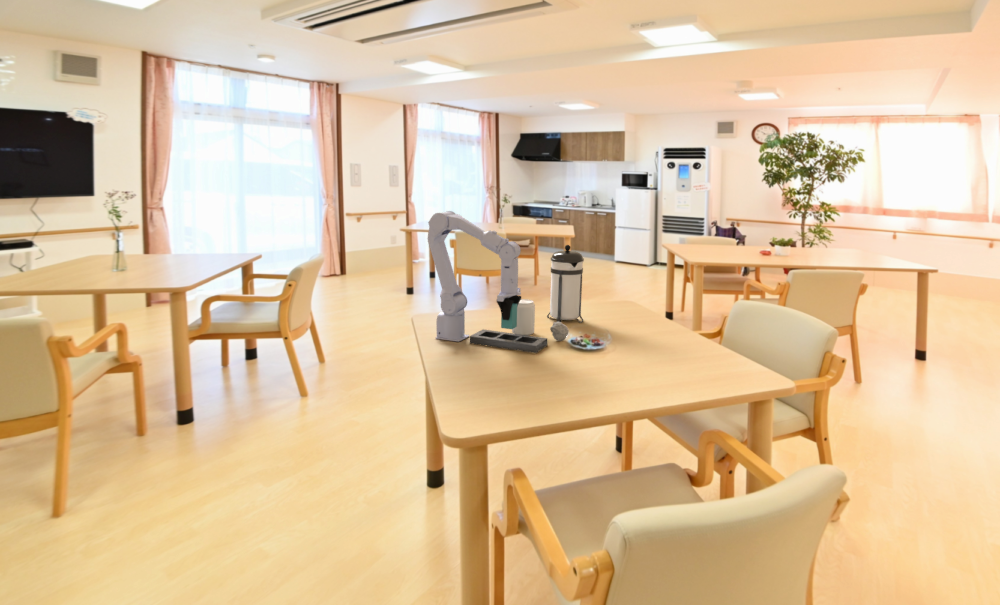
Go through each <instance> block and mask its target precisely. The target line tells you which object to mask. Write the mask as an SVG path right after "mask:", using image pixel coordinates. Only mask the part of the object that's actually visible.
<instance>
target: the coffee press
mask: <svg viewBox="0 0 1000 605" xmlns="http://www.w3.org/2000/svg"><path fill="white" fill-rule="evenodd" d="M583 257H584V256H583V255H582V253H580V252H577V251H574V250H571V246H570V244H566V245H565V246H564V250H558V251H556V252H554V253H553V254H552V255H551V257H550V262H551V267H550V302H549V303H550V304H549V313H548V314H547V316H546V317H547V319H549V317H550V316H551V317H550V319H551V318H553V319H556V321H555V322H561V323H562V321H563V320H564V321H572V320H576V321H577V322H578V323H579V324H582V323H583V322H584V319H583V317H582V295H583V294H582V292H583V273H584V267H583V264H584V261H585V258H583ZM579 318H580V319H579Z"/></svg>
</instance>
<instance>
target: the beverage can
mask: <svg viewBox="0 0 1000 605" xmlns="http://www.w3.org/2000/svg"><path fill="white" fill-rule="evenodd" d="M534 302H535V301H534V300H532V299H528V298H521V300H520V302H519V304H518V306H517V327H515V328H514V329H511V333H513V334H520V335H527V336H532V335H533V334H534V333H535V319H536V318H535V316H536V315H535V314H536V304H535V303H534Z"/></svg>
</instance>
